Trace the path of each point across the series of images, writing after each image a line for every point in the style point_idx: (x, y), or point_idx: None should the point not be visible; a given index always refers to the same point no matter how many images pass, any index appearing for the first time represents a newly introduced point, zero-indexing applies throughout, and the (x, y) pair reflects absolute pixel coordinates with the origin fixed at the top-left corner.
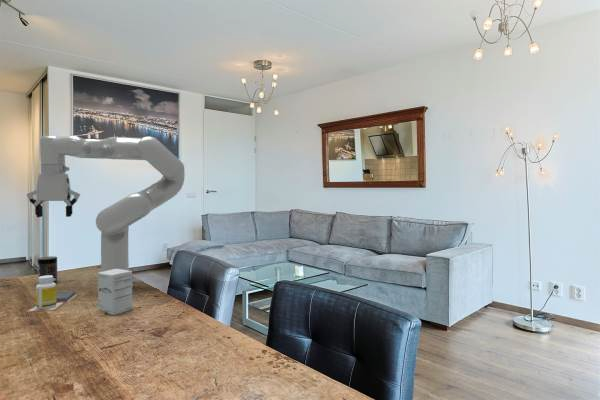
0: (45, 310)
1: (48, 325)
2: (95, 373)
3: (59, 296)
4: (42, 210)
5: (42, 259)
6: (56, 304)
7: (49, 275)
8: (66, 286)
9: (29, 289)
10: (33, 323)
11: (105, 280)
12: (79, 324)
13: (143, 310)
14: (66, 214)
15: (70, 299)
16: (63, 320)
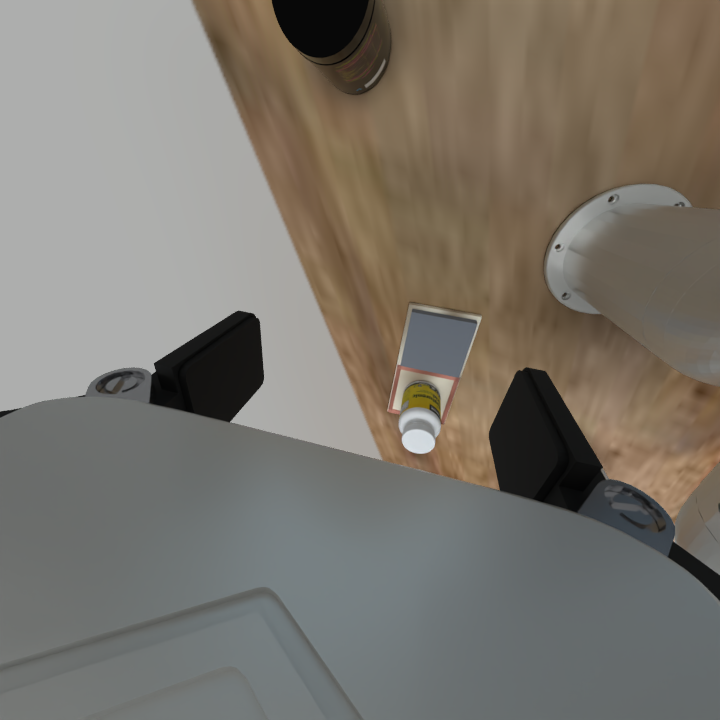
0: None
1: (440, 470)
2: None
3: (441, 357)
4: (222, 343)
5: (310, 53)
6: (439, 386)
7: (424, 433)
8: (438, 148)
9: (322, 158)
10: (415, 453)
11: None
12: (487, 485)
13: (615, 473)
14: (496, 452)
15: (466, 359)
16: (461, 460)
